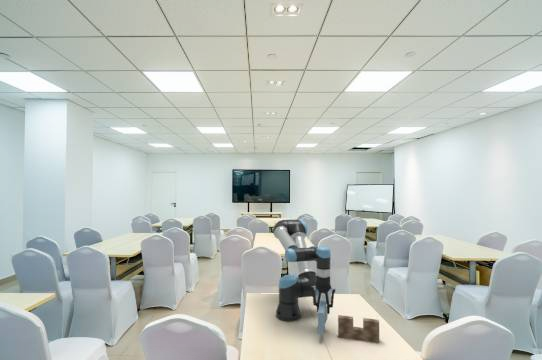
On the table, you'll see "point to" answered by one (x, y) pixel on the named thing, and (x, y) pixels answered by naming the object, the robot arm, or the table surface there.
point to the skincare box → (324, 297)
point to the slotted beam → (358, 329)
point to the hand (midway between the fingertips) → (323, 318)
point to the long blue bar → (322, 317)
